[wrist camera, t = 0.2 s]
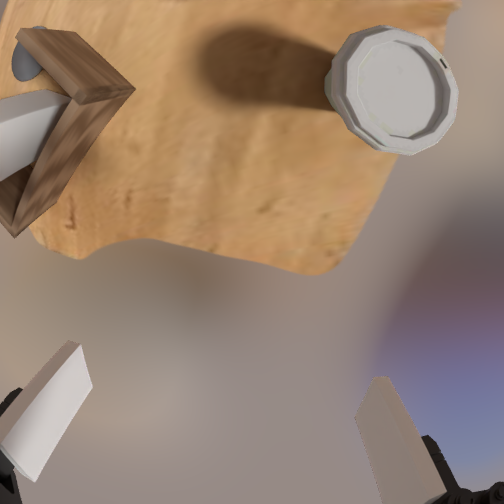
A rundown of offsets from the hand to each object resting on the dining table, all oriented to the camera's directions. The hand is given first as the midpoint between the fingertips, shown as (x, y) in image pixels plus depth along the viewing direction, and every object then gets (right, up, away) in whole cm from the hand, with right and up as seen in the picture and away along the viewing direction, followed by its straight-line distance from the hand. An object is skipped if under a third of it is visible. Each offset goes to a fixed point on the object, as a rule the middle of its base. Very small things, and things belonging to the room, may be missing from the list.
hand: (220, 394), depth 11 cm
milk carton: (-27, +25, +18) cm, 41 cm away
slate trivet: (-31, +35, +11) cm, 48 cm away
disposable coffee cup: (+12, +25, +16) cm, 32 cm away
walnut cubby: (-26, +24, +18) cm, 40 cm away
